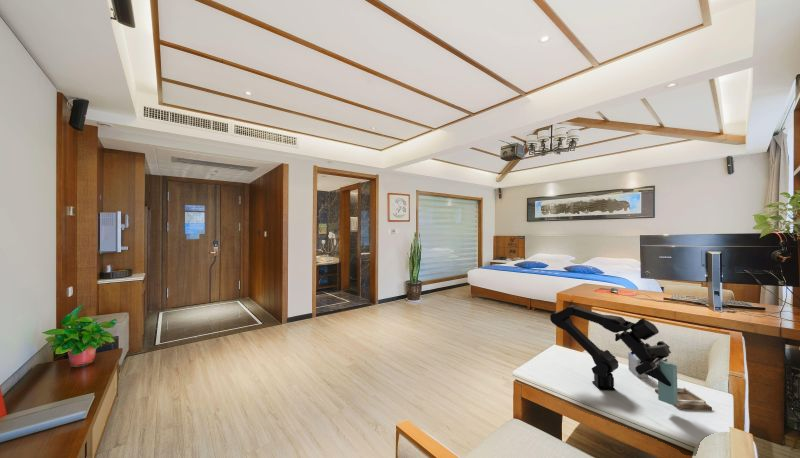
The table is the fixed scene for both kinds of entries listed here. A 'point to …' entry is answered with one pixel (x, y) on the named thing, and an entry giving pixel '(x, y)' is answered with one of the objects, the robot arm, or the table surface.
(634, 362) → the medicine box
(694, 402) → the base plate
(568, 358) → the table surface
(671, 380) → the column block
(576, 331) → the robot arm
